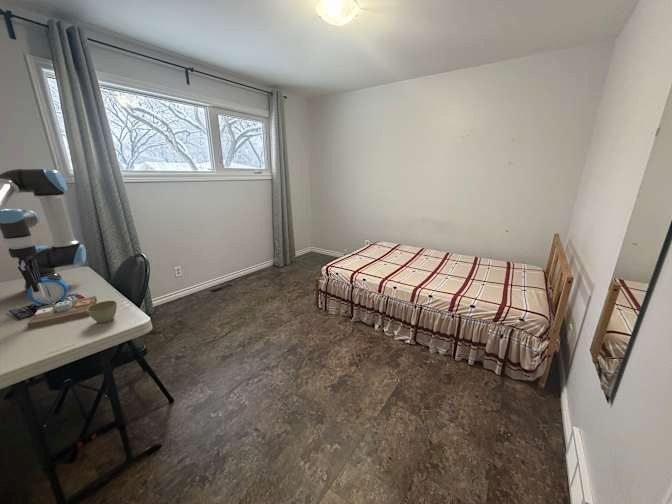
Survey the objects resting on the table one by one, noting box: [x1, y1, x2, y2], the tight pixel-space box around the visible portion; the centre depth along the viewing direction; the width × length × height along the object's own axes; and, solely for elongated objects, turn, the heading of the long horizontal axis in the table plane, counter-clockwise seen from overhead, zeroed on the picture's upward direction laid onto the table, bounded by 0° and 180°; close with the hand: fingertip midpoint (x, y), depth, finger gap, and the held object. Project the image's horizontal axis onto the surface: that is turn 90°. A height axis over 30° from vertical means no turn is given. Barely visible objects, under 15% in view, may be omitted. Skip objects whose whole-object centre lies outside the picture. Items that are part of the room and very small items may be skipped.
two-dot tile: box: [55, 299, 73, 312], centre depth 124 cm, size 5×5×3 cm
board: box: [26, 295, 98, 329], centre depth 124 cm, size 18×20×2 cm
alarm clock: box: [27, 272, 69, 306], centre depth 133 cm, size 13×6×15 cm, turn 132°
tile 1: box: [34, 307, 54, 316], centre depth 121 cm, size 5×5×3 cm
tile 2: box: [76, 300, 91, 308], centre depth 128 cm, size 5×5×3 cm
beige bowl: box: [87, 300, 118, 324], centre depth 117 cm, size 10×10×7 cm
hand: (40, 297), depth 119 cm, fingers closed
